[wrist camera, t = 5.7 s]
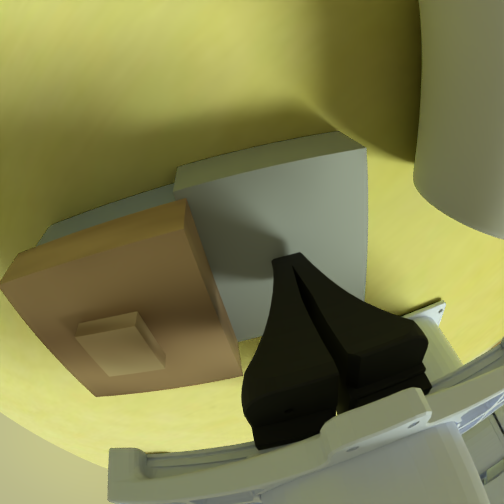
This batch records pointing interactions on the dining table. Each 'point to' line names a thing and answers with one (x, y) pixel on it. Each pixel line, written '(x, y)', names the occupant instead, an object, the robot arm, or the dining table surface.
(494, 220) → the mug
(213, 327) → the lid
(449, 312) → the dining table surface
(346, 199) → the stand
